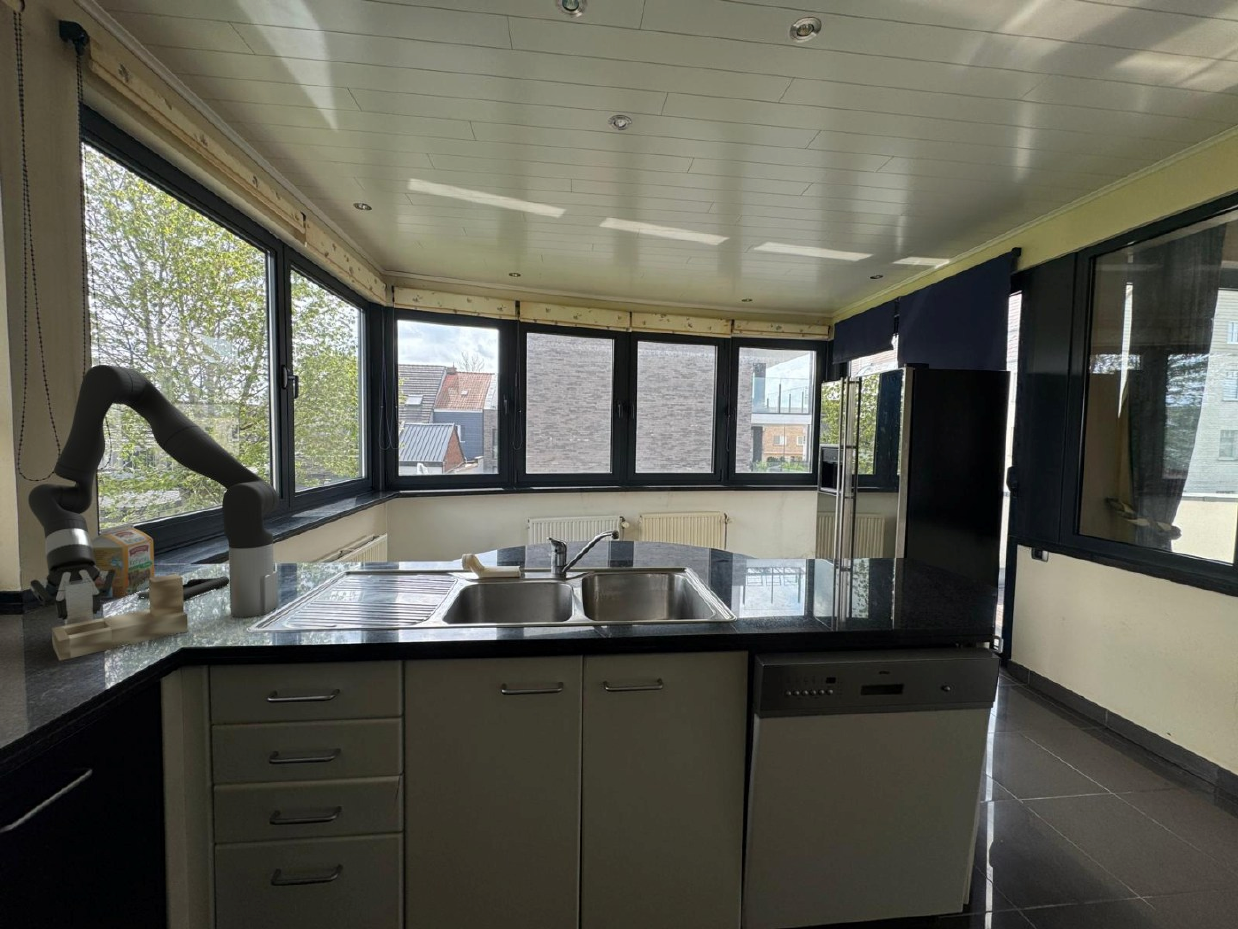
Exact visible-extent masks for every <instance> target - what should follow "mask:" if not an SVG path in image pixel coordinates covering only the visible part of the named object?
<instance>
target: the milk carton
mask: <svg viewBox="0 0 1238 929" xmlns="http://www.w3.org/2000/svg"><path fill="white" fill-rule="evenodd" d="M134 525H135V524H134V523H127V524H122V525H116V526H112V527H107V528H102V529H100V531H99V532H100V533H99V535H97V536H96V537H93V538H92V539H91V538H90V539H91V542H92V547H93V552H94V557H95V563H96V567H97V568H99V569H100V571H109V570H111V569H114V570H115V571H116V572H115V577H114V580H113V583H112V586H111V589H110V592H109V594H108V596H105V597H104V596H103V597H100V599H112V598H111V597H125V596H127V595H130V596H133V595H135V594H134V593H136V592H139V591H141V590H143V589H147V590H149V589H148V588H149V578H154V577H156V576H155V561H154V560H155V553H154V552H155V550H154V539H153V538H152V537H151V536H149V535H148V534H146V533H145V532H143V531H141V530H139V529H136V528H135V526H134ZM94 583H95V586H96V588H97V589H98V590H100V589H102V588H103V585H104V583H105V581H104V580H102V577H100V576H99V577H98V578H97V579H96V580H95V581H94ZM141 592H142V591H141ZM139 593H140V592H139ZM132 594H133V595H132ZM136 594H137V593H136ZM125 598H126V597H125Z"/></svg>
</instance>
